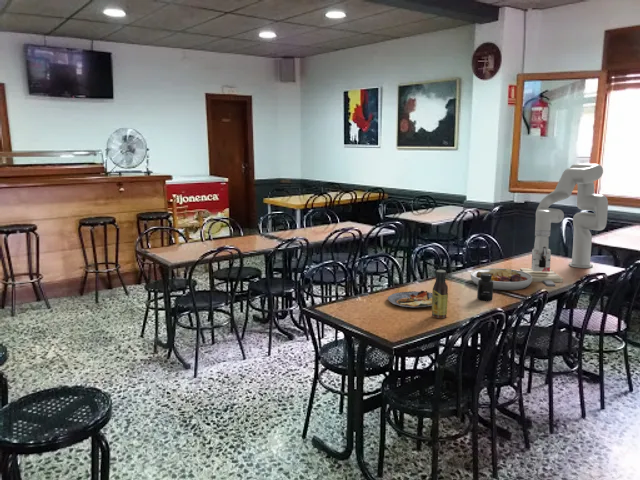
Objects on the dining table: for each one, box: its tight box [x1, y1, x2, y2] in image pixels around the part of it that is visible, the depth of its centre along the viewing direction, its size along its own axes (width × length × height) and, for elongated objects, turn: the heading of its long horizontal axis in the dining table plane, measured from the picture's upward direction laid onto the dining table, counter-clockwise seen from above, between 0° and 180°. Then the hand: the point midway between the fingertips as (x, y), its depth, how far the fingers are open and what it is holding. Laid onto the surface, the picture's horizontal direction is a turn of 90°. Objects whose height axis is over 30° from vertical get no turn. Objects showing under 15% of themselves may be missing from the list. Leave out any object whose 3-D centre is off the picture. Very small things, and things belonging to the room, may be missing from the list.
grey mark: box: [544, 282, 556, 287], centre depth 258 cm, size 4×4×2 cm
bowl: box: [470, 267, 533, 291], centre depth 263 cm, size 30×30×8 cm
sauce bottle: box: [431, 269, 449, 319], centre depth 211 cm, size 6×6×20 cm
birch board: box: [519, 267, 564, 283], centre depth 275 cm, size 22×16×2 cm
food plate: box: [387, 290, 433, 308], centre depth 233 cm, size 25×23×4 cm
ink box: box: [531, 248, 552, 272], centre depth 275 cm, size 9×5×12 cm, turn 82°
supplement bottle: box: [476, 273, 494, 302], centre depth 235 cm, size 7×7×12 cm
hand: (540, 265), depth 276 cm, fingers closed on ink box, 5 cm apart
